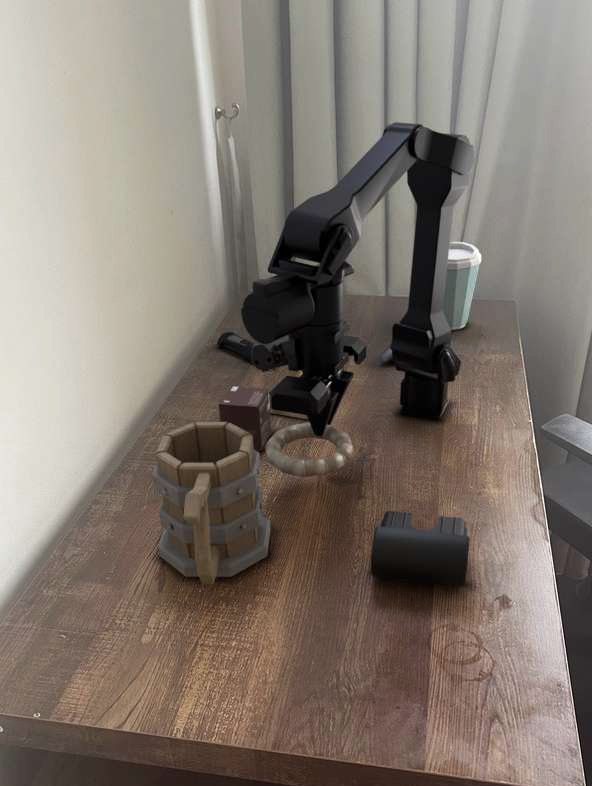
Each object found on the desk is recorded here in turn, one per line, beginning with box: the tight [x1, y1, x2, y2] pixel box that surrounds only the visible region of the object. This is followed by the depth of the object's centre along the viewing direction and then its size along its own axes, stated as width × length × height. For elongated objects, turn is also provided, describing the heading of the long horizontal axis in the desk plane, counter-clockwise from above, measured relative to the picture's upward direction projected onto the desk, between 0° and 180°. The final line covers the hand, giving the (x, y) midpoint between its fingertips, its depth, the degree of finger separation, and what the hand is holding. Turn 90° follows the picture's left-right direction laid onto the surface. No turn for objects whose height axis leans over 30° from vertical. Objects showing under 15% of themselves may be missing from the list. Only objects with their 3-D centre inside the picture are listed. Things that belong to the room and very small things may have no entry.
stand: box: [268, 365, 308, 420], centre depth 118 cm, size 9×9×7 cm
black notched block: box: [370, 510, 471, 588], centre depth 81 cm, size 10×7×7 cm
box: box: [218, 386, 272, 451], centre depth 108 cm, size 6×6×7 cm
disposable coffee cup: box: [443, 241, 482, 331], centre depth 143 cm, size 11×11×15 cm
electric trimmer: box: [216, 331, 256, 361], centre depth 135 cm, size 4×16×3 cm, turn 42°
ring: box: [264, 422, 354, 478], centre depth 94 cm, size 11×11×2 cm
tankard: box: [152, 421, 272, 585], centre depth 81 cm, size 20×13×15 cm, turn 178°
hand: (321, 431), depth 98 cm, fingers closed on ring, 2 cm apart
